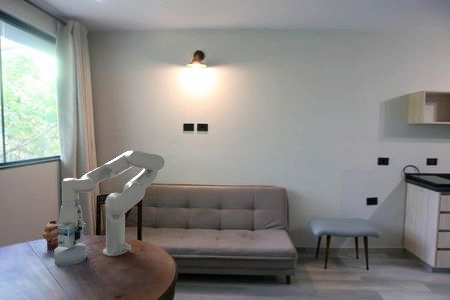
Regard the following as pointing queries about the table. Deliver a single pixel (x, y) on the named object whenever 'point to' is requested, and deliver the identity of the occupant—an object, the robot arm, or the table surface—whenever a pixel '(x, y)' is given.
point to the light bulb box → (68, 235)
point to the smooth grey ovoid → (70, 255)
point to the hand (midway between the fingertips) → (70, 238)
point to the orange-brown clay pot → (51, 235)
